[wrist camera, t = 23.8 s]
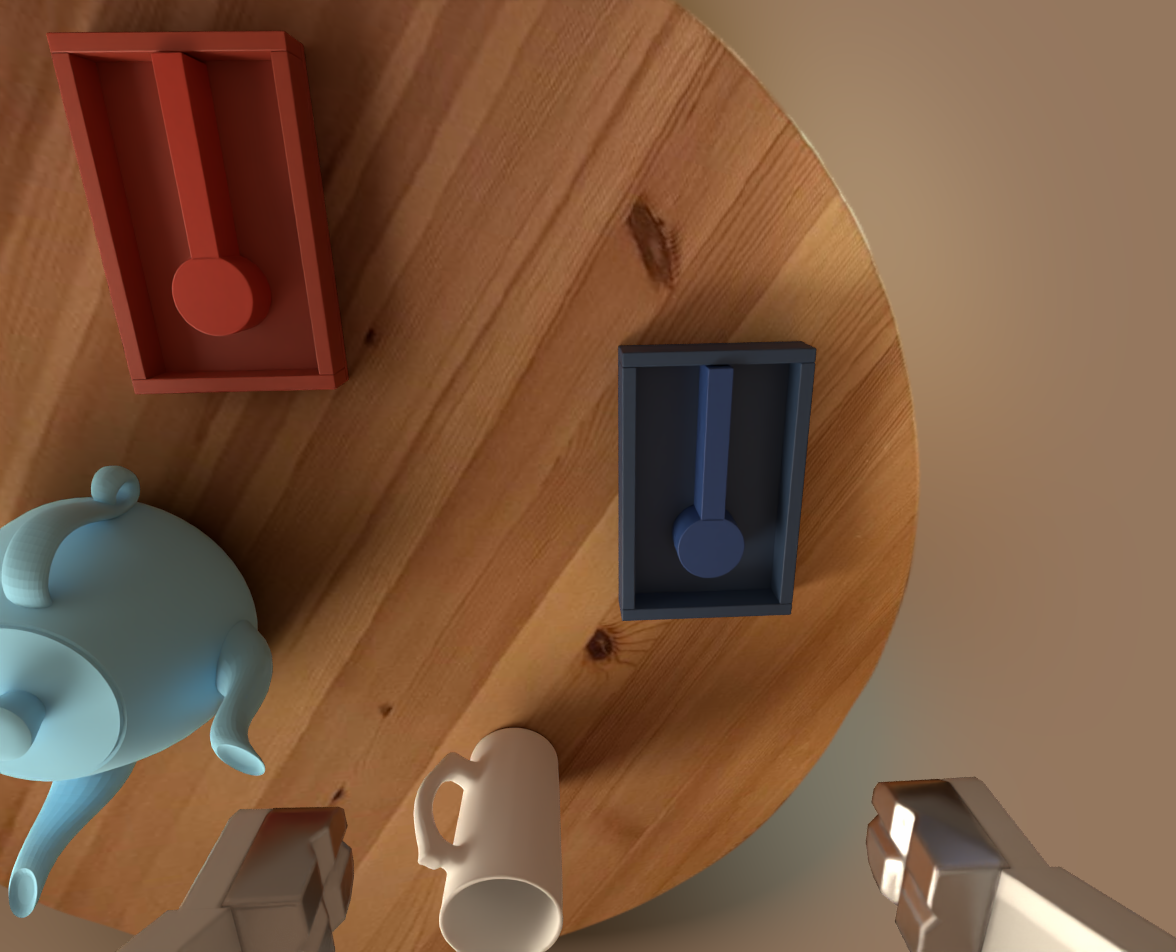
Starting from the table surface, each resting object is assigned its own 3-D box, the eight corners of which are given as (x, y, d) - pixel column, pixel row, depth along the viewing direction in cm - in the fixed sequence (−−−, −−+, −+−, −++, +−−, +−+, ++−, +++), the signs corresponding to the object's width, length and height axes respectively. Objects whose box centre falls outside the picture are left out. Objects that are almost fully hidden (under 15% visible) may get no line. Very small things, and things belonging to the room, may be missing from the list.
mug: (581, 755, 49) (588, 913, 38) (522, 813, 50) (512, 981, 39) (467, 682, 46) (437, 827, 35) (409, 745, 48) (363, 904, 37)
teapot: (155, 762, 47) (26, 934, 36) (-80, 571, 42) (-321, 702, 30) (341, 633, 45) (265, 774, 33) (115, 410, 39) (-70, 486, 28)
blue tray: (618, 345, 39) (622, 352, 37) (801, 341, 39) (817, 348, 37) (618, 600, 45) (622, 621, 42) (779, 594, 45) (791, 615, 43)
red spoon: (150, 64, 33) (119, 51, 31) (234, 64, 33) (210, 51, 31) (203, 330, 37) (180, 337, 35) (277, 329, 37) (259, 335, 35)
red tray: (81, 46, 33) (45, 32, 31) (303, 44, 33) (284, 30, 31) (160, 384, 39) (134, 394, 36) (349, 379, 39) (336, 389, 37)
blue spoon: (677, 361, 39) (684, 369, 37) (746, 359, 39) (758, 367, 37) (670, 561, 43) (676, 579, 41) (733, 559, 43) (742, 577, 41)
